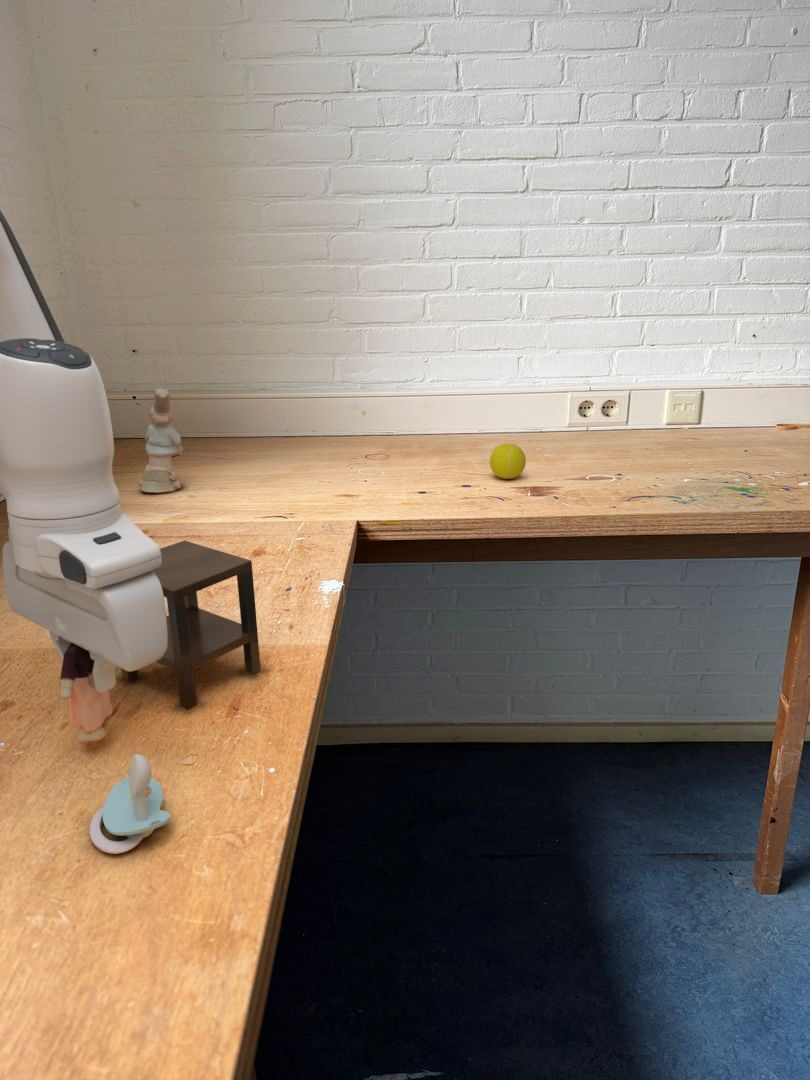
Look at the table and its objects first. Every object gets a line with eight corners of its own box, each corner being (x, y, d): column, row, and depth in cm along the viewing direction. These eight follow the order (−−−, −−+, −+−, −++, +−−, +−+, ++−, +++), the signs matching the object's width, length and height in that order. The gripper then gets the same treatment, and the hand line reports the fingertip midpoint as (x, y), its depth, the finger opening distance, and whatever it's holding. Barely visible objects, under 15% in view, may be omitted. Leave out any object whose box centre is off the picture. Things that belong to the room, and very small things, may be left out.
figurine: (178, 494, 154) (167, 390, 147) (135, 495, 154) (121, 391, 147) (190, 482, 162) (179, 383, 155) (148, 483, 162) (136, 383, 155)
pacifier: (96, 871, 59) (177, 843, 62) (80, 802, 57) (165, 776, 60) (86, 813, 66) (160, 790, 68) (71, 749, 63) (149, 727, 66)
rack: (122, 678, 86) (105, 566, 82) (196, 644, 94) (184, 540, 90) (187, 710, 80) (173, 591, 76) (261, 670, 88) (251, 560, 83)
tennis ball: (482, 478, 162) (483, 444, 160) (505, 471, 166) (506, 438, 164) (508, 484, 157) (509, 449, 155) (531, 478, 161) (533, 444, 159)
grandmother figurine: (87, 711, 77) (64, 589, 73) (127, 709, 77) (106, 587, 73) (57, 756, 70) (30, 623, 66) (101, 753, 70) (77, 621, 66)
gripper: (-27, 521, 71) (-2, 659, 76) (104, 575, 60) (124, 734, 64) (40, 505, 76) (60, 636, 81) (174, 552, 64) (188, 702, 69)
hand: (90, 680), depth 72 cm, fingers closed on grandmother figurine, 3 cm apart
